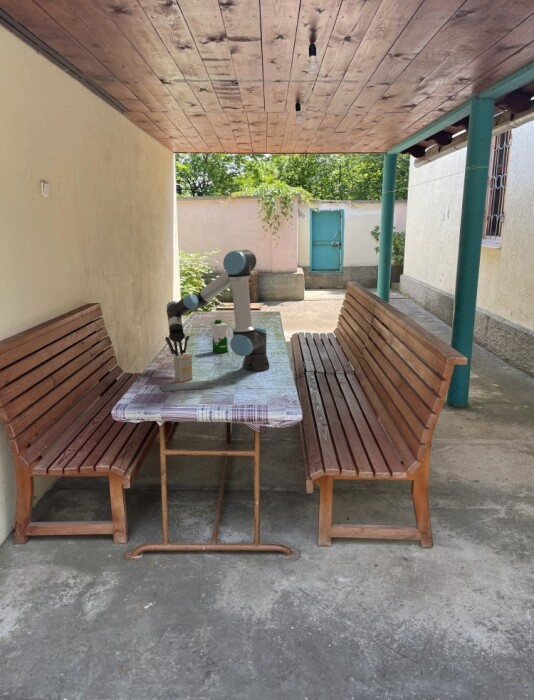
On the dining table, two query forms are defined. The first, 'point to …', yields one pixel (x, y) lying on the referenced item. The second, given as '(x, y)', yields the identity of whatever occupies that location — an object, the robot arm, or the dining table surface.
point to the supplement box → (183, 368)
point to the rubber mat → (186, 386)
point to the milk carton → (219, 337)
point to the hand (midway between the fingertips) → (180, 364)
